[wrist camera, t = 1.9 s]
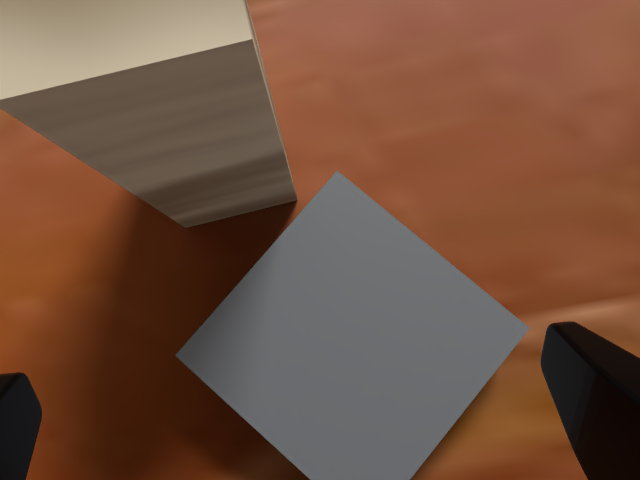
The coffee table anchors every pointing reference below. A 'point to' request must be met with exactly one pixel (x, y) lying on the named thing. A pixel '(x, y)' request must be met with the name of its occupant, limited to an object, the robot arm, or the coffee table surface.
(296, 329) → the pedestal
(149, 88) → the beige rectangular block
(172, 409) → the coffee table surface
